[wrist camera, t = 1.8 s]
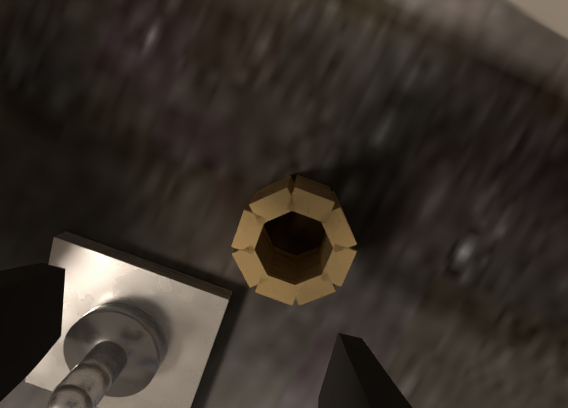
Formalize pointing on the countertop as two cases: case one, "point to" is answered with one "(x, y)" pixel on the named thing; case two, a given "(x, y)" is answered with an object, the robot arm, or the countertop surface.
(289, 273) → the brass ring
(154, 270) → the piston stand
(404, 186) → the countertop surface
